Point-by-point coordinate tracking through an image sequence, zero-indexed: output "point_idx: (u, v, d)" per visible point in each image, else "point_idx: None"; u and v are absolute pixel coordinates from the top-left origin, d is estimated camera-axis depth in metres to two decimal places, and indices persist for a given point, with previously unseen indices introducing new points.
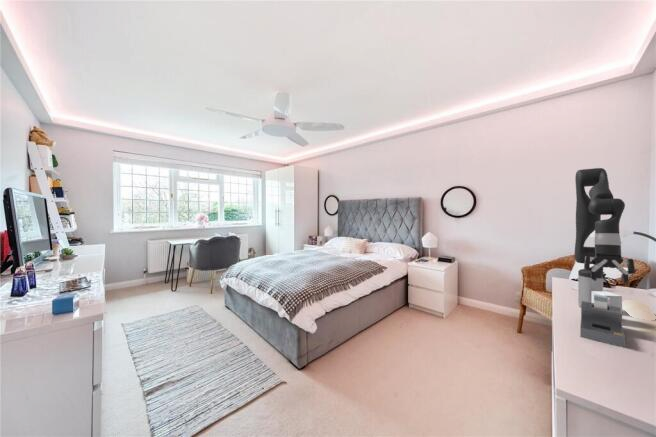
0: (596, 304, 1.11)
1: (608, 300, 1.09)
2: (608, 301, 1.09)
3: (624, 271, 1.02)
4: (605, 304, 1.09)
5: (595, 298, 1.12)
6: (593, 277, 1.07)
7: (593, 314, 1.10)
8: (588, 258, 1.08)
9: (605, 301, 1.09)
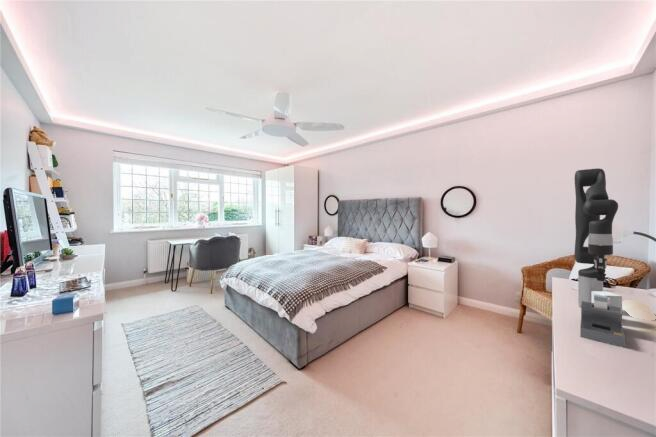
0: (596, 304, 1.11)
1: (608, 300, 1.09)
2: (608, 301, 1.09)
3: None
4: (605, 304, 1.09)
5: (595, 298, 1.12)
6: (603, 278, 1.08)
7: (593, 314, 1.10)
8: (604, 260, 1.06)
9: (605, 301, 1.09)
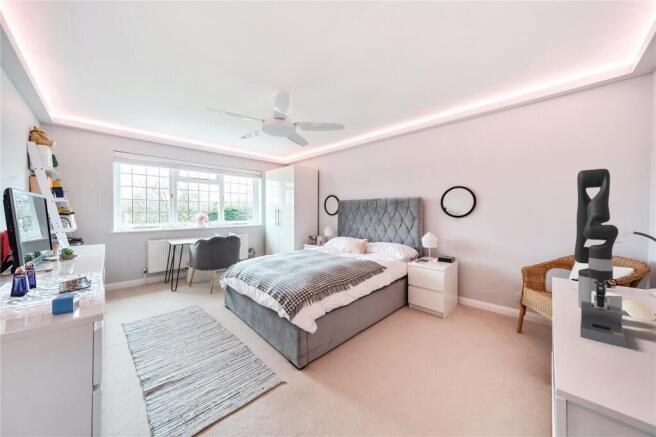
0: (596, 304, 1.11)
1: (608, 300, 1.09)
2: (608, 301, 1.09)
3: None
4: (605, 304, 1.09)
5: (595, 298, 1.12)
6: (603, 304, 1.09)
7: (593, 314, 1.10)
8: (604, 289, 1.07)
9: (605, 301, 1.09)
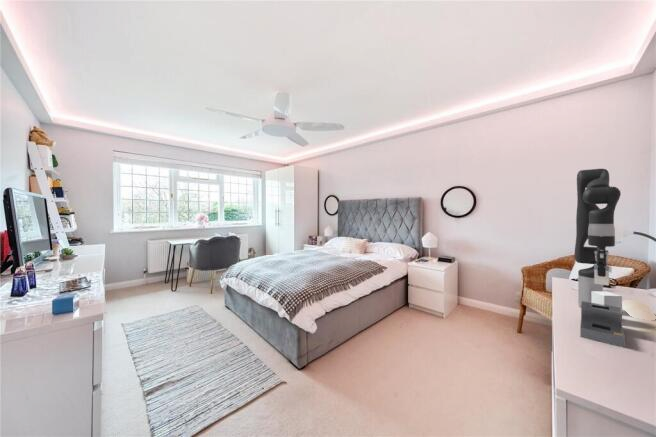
0: (597, 273, 1.03)
1: (610, 268, 1.01)
2: (610, 269, 1.01)
3: None
4: (606, 273, 1.01)
5: (596, 267, 1.03)
6: (604, 273, 1.01)
7: (593, 314, 1.10)
8: (606, 255, 0.98)
9: (606, 269, 1.01)
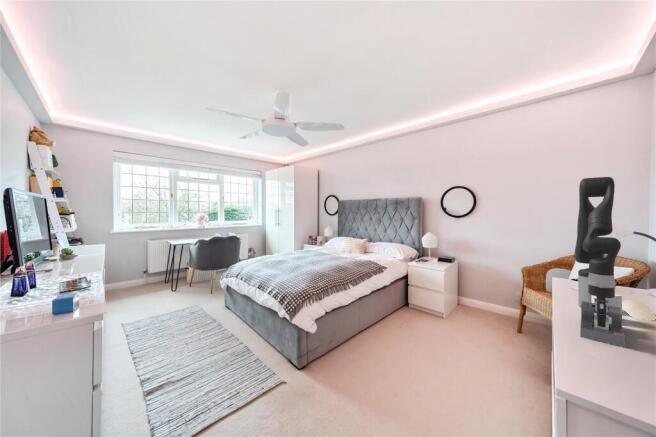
0: (596, 324, 1.03)
1: (610, 320, 1.01)
2: (610, 321, 1.01)
3: None
4: (606, 324, 1.01)
5: (595, 317, 1.03)
6: (604, 324, 1.00)
7: (593, 314, 1.10)
8: (606, 306, 0.98)
9: (606, 321, 1.01)
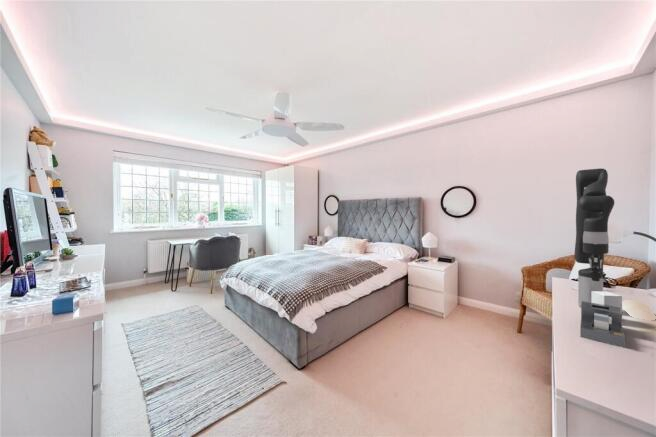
0: (596, 324, 1.03)
1: (610, 320, 1.01)
2: (610, 321, 1.01)
3: None
4: (606, 324, 1.01)
5: (595, 317, 1.03)
6: (598, 278, 1.03)
7: (593, 314, 1.10)
8: (600, 260, 1.01)
9: (606, 321, 1.01)
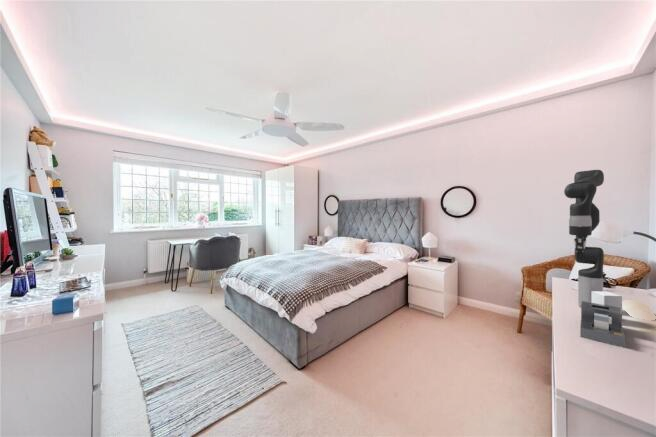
0: (596, 324, 1.03)
1: (610, 320, 1.01)
2: (610, 321, 1.01)
3: None
4: (606, 324, 1.01)
5: (595, 317, 1.03)
6: (582, 257, 1.13)
7: (593, 314, 1.10)
8: (583, 240, 1.12)
9: (606, 321, 1.01)
